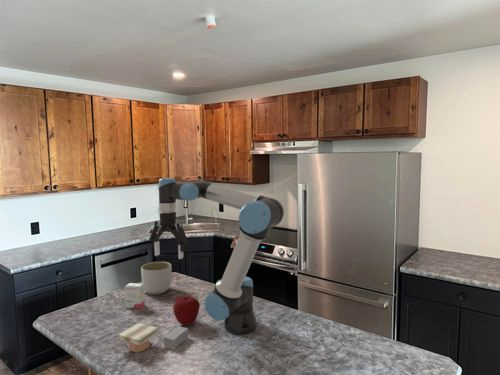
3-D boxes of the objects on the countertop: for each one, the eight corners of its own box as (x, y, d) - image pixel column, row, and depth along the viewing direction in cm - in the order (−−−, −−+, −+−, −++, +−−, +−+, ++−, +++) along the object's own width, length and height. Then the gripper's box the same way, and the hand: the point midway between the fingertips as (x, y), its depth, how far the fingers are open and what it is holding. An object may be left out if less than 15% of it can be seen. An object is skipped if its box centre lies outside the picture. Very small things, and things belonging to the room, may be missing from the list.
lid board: (158, 332, 142) (158, 327, 141) (140, 345, 132) (139, 340, 131) (138, 327, 146) (138, 322, 146) (118, 339, 136) (118, 334, 136)
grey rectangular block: (188, 337, 146) (187, 328, 146) (174, 349, 137) (173, 339, 137) (178, 335, 148) (178, 326, 148) (164, 346, 139) (163, 337, 139)
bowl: (153, 343, 141) (153, 333, 141) (139, 353, 134) (139, 342, 134) (138, 339, 144) (138, 329, 144) (124, 349, 137) (124, 338, 137)
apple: (169, 327, 155) (168, 299, 154) (182, 316, 166) (181, 290, 165) (192, 331, 151) (191, 303, 150) (204, 320, 162) (203, 293, 160)
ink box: (145, 304, 179) (144, 283, 178) (140, 309, 174) (139, 286, 173) (130, 303, 181) (129, 282, 180) (125, 307, 176) (124, 285, 175)
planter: (155, 299, 186) (154, 272, 185) (135, 293, 195) (134, 267, 194) (178, 289, 200) (177, 264, 199) (158, 283, 209) (157, 260, 208)
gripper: (195, 212, 154) (196, 257, 155) (151, 209, 164) (153, 251, 166) (185, 214, 147) (186, 262, 149) (140, 211, 157) (142, 255, 159)
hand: (168, 256), depth 157 cm, fingers open, 13 cm apart
